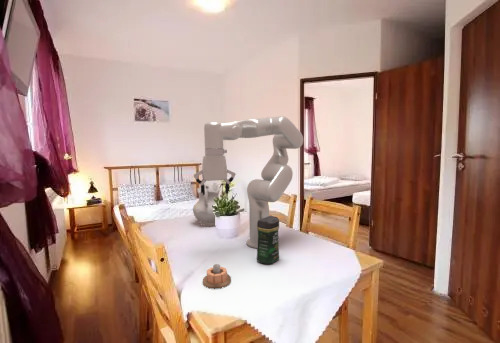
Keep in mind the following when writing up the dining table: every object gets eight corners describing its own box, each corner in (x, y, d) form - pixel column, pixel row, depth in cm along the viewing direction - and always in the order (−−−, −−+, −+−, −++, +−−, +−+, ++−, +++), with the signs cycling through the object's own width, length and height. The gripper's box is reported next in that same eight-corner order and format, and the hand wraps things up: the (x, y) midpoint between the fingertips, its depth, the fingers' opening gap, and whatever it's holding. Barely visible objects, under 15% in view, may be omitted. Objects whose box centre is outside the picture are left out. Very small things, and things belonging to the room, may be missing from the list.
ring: (225, 273, 106) (225, 265, 106) (228, 282, 99) (227, 274, 99) (206, 275, 104) (206, 267, 104) (207, 284, 98) (207, 276, 97)
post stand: (228, 273, 108) (228, 258, 107) (232, 286, 98) (232, 270, 97) (202, 276, 106) (201, 261, 105) (203, 290, 96) (203, 273, 95)
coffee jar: (270, 266, 113) (270, 221, 111) (254, 261, 118) (253, 218, 116) (282, 258, 121) (282, 216, 119) (266, 254, 126) (266, 213, 123)
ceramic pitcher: (227, 230, 163) (229, 187, 160) (192, 230, 158) (194, 186, 156) (222, 220, 184) (224, 182, 182) (191, 219, 179) (193, 180, 177)
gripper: (233, 152, 122) (234, 191, 124) (192, 152, 118) (194, 193, 120) (236, 152, 115) (237, 194, 117) (193, 153, 111) (194, 196, 113)
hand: (215, 193), depth 118 cm, fingers open, 9 cm apart
